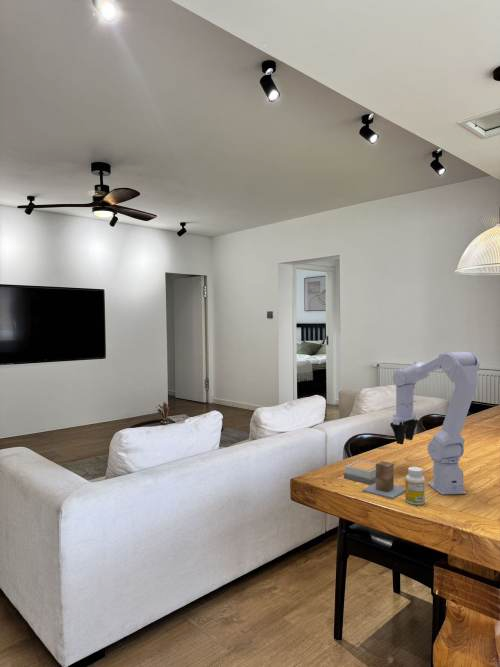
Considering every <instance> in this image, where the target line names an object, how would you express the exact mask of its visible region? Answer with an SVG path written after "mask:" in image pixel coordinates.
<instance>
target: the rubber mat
mask: <svg viewBox="0 0 500 667" xmlns="http://www.w3.org/2000/svg"><path fill="white" fill-rule="evenodd" d="M362 492H364V493H368V494H372V495H376V496H379V497H383V498H386V499H390V500H394V499H396V498H397V497H399V496H401V495H402V494H403V493H406V487H402V486H397V485H394V489H392V490H391V491H389V492H385V491H381V490H377V489H376V482H375V483H373V484H371V485H370V484H369V486H366V487H365V488H363V489H362Z"/></svg>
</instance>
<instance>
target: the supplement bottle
mask: <svg viewBox="0 0 500 667" xmlns="http://www.w3.org/2000/svg"><path fill="white" fill-rule="evenodd" d="M407 470H408V471H407V473H408V474H407V475H406V476H405V488H406V491H405V501H406V502H407V503H408V504H411V505H415V506H416V505H418V506H419V505H421V506H422V505H423V504H425V502H426V479H425V477H424V476H423V473H424V472H423V468H421V467H417V466H409V467H408V468H407Z"/></svg>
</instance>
